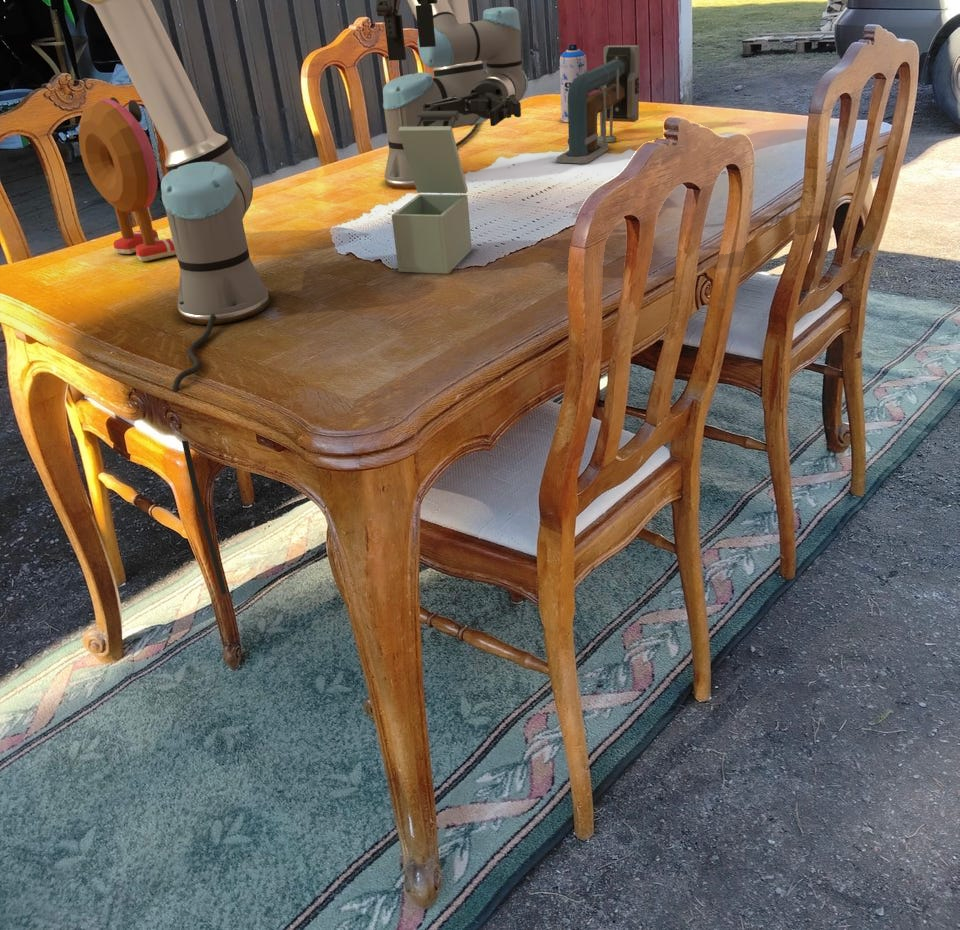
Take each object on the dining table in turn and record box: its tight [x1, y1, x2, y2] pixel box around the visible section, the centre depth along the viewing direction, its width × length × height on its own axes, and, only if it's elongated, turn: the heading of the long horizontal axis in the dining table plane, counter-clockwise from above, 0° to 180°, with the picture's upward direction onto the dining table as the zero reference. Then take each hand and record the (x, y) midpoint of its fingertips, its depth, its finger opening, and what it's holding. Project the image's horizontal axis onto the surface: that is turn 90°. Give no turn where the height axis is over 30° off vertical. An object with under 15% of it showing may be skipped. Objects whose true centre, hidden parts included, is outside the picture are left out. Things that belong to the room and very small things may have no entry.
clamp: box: [555, 44, 640, 164], centre depth 242 cm, size 35×9×21 cm, turn 151°
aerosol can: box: [559, 43, 588, 123], centre depth 273 cm, size 8×8×20 cm
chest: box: [391, 193, 473, 275], centre depth 177 cm, size 13×10×10 cm
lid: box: [398, 111, 469, 194], centre depth 176 cm, size 14×10×8 cm
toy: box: [78, 96, 177, 262], centre depth 190 cm, size 21×10×30 cm, turn 47°
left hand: (413, 53), depth 161 cm, fingers open, 13 cm apart
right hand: (457, 119), depth 183 cm, fingers open, 13 cm apart
